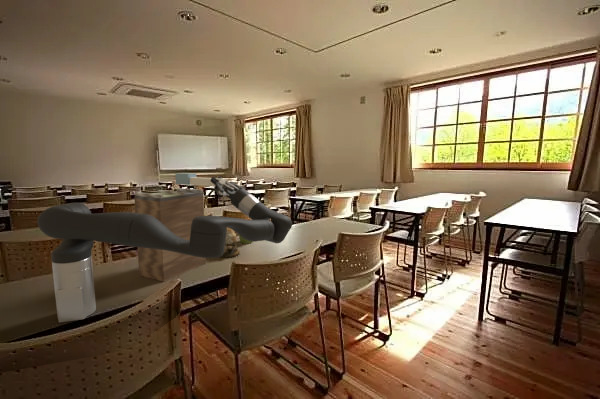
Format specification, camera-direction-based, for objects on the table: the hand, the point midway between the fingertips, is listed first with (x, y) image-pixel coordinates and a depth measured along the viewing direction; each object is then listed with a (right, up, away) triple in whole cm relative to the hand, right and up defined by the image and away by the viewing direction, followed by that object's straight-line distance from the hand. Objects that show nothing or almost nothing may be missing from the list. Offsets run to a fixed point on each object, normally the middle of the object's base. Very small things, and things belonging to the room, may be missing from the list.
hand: (215, 178), depth 116 cm
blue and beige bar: (-7, -2, +4) cm, 8 cm away
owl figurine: (-4, -35, +31) cm, 47 cm away
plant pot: (+3, -33, +51) cm, 60 cm away
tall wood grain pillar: (-20, -38, +9) cm, 43 cm away
